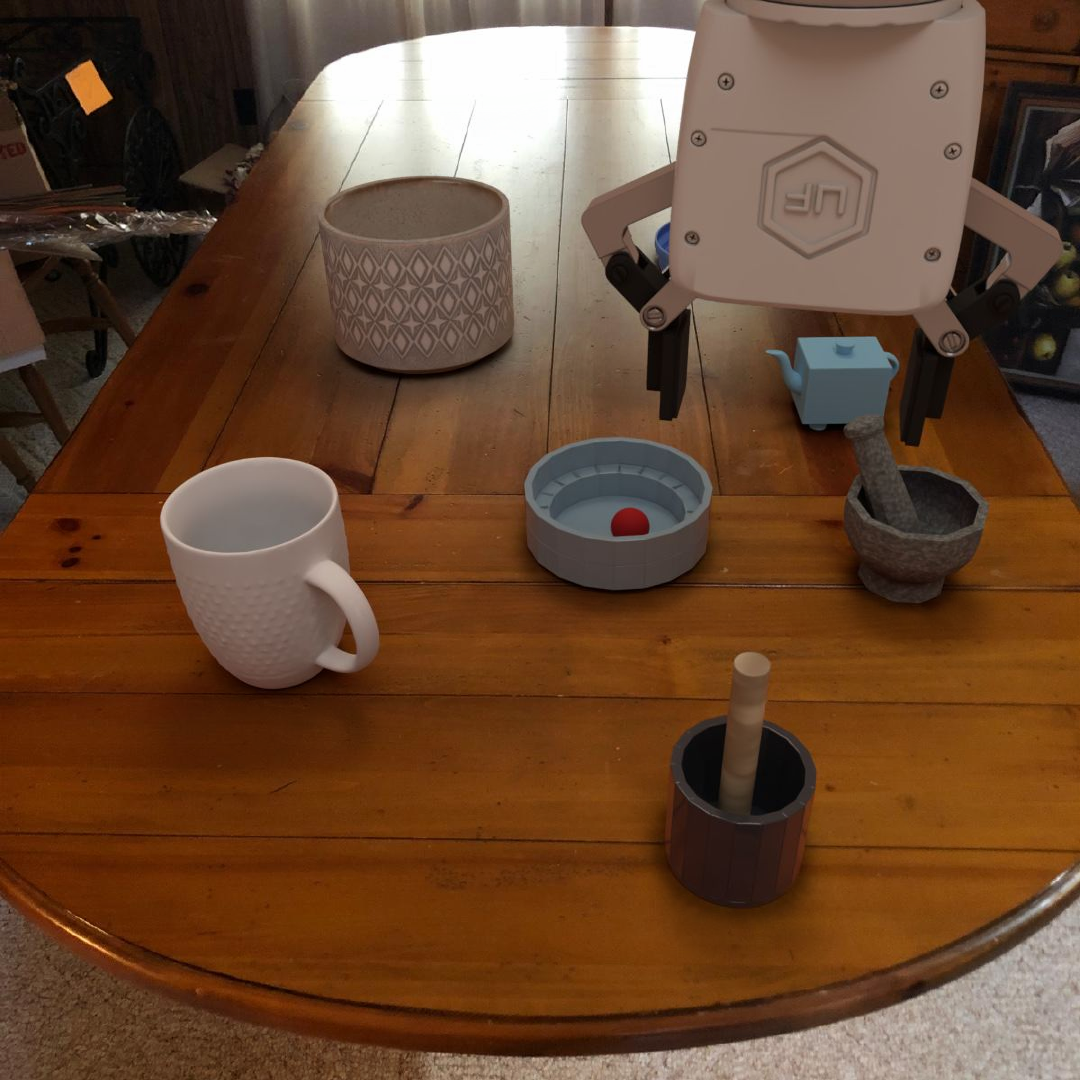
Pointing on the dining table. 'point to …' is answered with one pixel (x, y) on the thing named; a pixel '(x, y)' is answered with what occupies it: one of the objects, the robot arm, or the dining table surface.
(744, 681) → the stick
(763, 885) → the holder
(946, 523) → the mortar and pestle
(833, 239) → the robot arm
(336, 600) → the mug
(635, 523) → the berry
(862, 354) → the teapot
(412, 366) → the planter
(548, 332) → the dining table surface
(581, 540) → the mixing bowl
